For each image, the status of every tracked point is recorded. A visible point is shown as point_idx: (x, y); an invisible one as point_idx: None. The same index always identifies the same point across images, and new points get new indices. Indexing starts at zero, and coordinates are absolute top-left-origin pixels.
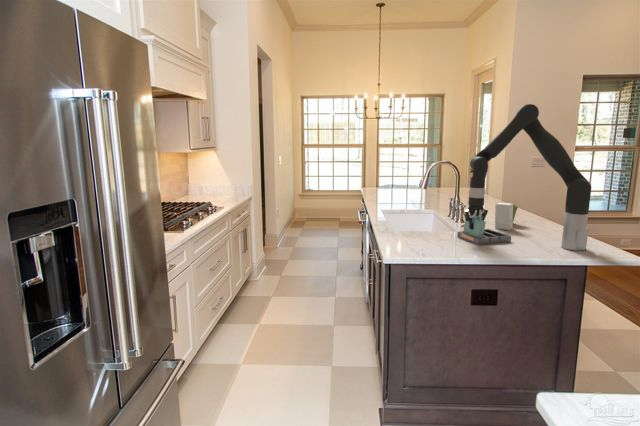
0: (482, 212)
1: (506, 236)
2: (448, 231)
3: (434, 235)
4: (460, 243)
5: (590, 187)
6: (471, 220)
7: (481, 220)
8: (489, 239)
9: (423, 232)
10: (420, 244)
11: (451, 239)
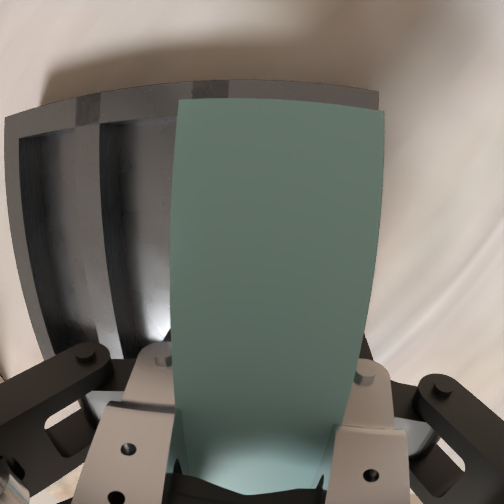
0: (21, 492)
1: (33, 111)
2: None
3: None
4: (458, 219)
5: None
6: (386, 404)
7: (224, 253)
8: (221, 83)
9: None
10: None
11: (421, 343)
